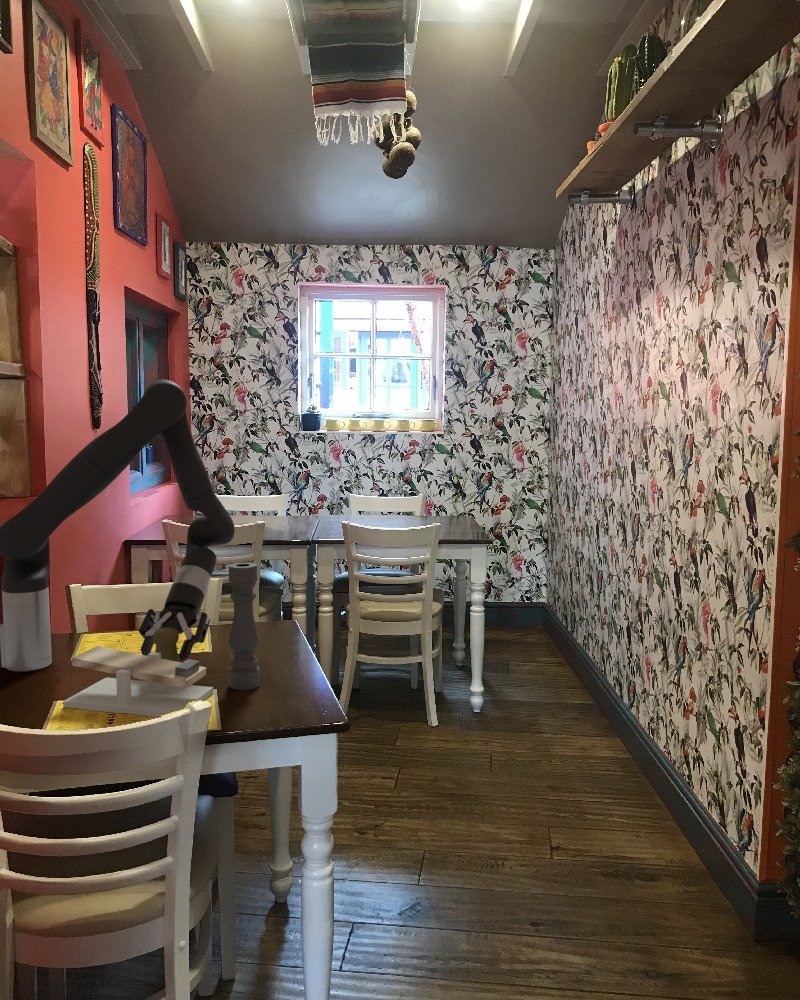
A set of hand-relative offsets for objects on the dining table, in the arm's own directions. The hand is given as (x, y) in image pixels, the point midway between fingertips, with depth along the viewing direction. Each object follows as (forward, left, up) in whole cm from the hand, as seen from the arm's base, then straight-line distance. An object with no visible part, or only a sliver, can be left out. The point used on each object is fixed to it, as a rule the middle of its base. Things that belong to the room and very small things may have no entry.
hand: (163, 657), depth 165 cm
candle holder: (+17, +2, -5) cm, 18 cm away
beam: (+1, -11, +1) cm, 11 cm away
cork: (0, +1, -5) cm, 6 cm away
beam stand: (+1, -11, -5) cm, 12 cm away
